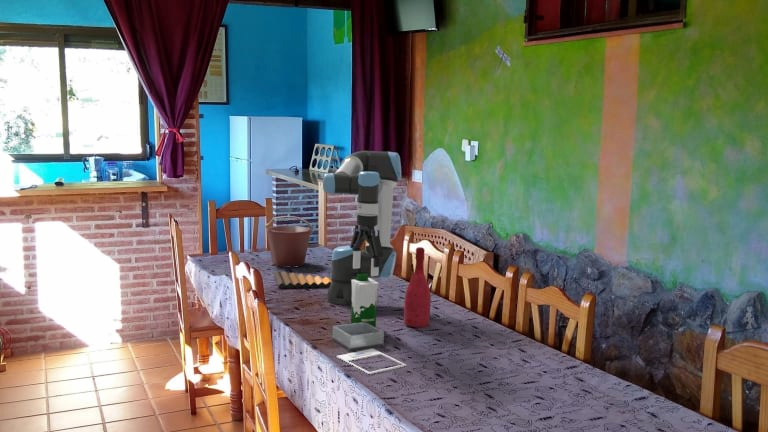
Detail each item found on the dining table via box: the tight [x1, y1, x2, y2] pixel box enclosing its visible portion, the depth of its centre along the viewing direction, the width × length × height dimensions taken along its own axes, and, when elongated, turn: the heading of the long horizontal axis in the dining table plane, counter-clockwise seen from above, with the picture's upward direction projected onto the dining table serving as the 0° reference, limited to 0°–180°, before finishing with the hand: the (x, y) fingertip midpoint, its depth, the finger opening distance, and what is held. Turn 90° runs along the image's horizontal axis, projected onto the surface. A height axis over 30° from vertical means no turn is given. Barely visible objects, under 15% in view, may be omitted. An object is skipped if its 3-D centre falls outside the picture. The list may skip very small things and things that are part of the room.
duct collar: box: [332, 322, 385, 352], centre depth 243 cm, size 13×13×5 cm
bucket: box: [264, 215, 314, 268], centre depth 365 cm, size 24×22×25 cm
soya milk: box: [350, 273, 380, 328], centre depth 259 cm, size 9×9×20 cm
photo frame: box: [336, 348, 407, 375], centre depth 226 cm, size 15×1×18 cm
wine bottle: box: [403, 246, 432, 329], centre depth 266 cm, size 10×10×30 cm
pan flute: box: [273, 269, 331, 290], centre depth 329 cm, size 25×3×25 cm
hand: (365, 272), depth 257 cm, fingers open, 13 cm apart
